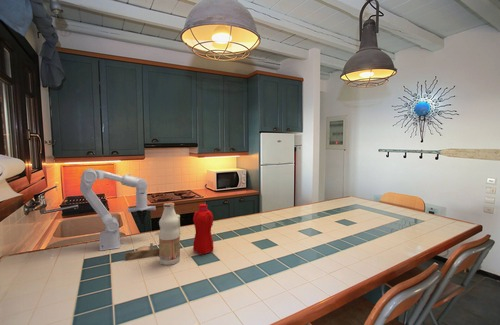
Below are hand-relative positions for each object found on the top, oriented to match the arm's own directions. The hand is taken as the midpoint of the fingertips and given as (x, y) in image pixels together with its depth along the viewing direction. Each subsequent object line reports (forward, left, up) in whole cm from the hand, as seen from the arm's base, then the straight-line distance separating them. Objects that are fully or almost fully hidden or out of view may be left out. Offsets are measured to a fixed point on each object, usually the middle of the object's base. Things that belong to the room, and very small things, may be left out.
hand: (142, 223), depth 146 cm
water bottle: (+31, -25, -11) cm, 41 cm away
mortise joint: (+1, -19, -10) cm, 22 cm away
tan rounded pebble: (+1, -19, -11) cm, 21 cm away
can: (+17, +5, -11) cm, 21 cm away
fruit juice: (+13, -31, -11) cm, 35 cm away
